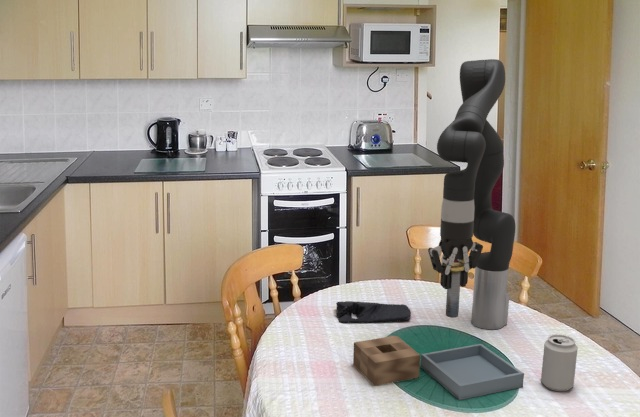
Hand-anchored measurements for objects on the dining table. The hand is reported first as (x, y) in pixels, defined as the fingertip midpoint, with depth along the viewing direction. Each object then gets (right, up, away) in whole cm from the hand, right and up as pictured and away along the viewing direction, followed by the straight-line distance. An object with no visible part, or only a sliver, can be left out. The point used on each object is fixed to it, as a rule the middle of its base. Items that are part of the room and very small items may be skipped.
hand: (453, 286), depth 172 cm
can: (+25, -24, +1) cm, 34 cm away
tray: (+5, -22, +5) cm, 23 cm away
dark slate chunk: (-16, -13, +42) cm, 47 cm away
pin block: (-15, -22, +7) cm, 27 cm away
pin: (0, -7, +2) cm, 7 cm away
